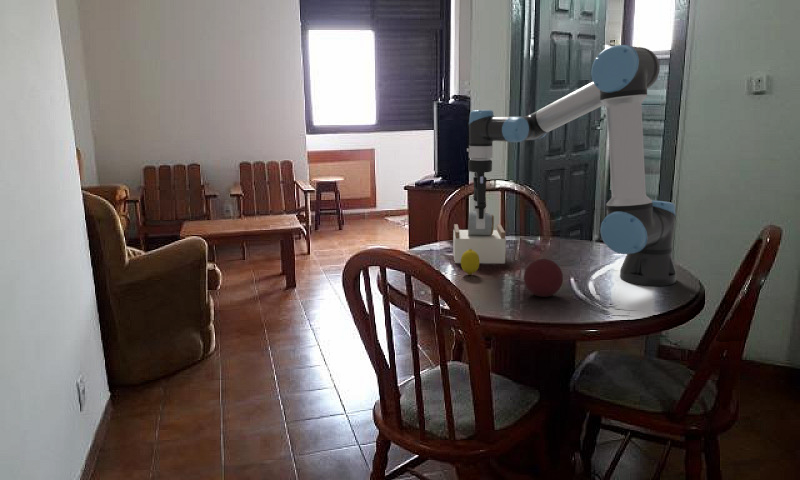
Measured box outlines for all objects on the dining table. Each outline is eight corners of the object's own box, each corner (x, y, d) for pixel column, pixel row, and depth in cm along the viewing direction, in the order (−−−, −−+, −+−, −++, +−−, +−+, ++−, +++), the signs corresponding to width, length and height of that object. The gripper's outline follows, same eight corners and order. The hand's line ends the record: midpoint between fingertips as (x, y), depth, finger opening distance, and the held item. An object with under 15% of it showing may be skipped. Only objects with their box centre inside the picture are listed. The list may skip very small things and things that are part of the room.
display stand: (505, 263, 200) (505, 232, 198) (454, 263, 201) (455, 232, 199) (500, 253, 214) (501, 224, 212) (453, 252, 215) (453, 224, 213)
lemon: (456, 275, 187) (457, 249, 186) (468, 271, 191) (468, 246, 189) (471, 278, 184) (472, 252, 182) (482, 274, 188) (483, 248, 186)
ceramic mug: (494, 237, 200) (494, 213, 199) (468, 237, 201) (468, 213, 199) (491, 231, 211) (492, 208, 209) (467, 231, 211) (467, 208, 210)
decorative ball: (530, 288, 174) (532, 253, 172) (566, 293, 169) (568, 257, 167) (518, 298, 165) (519, 261, 163) (555, 304, 160) (557, 266, 158)
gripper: (466, 155, 213) (465, 217, 218) (470, 163, 189) (469, 232, 193) (488, 155, 213) (487, 217, 217) (496, 162, 188) (494, 232, 193)
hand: (478, 224), depth 205 cm, fingers open, 13 cm apart
